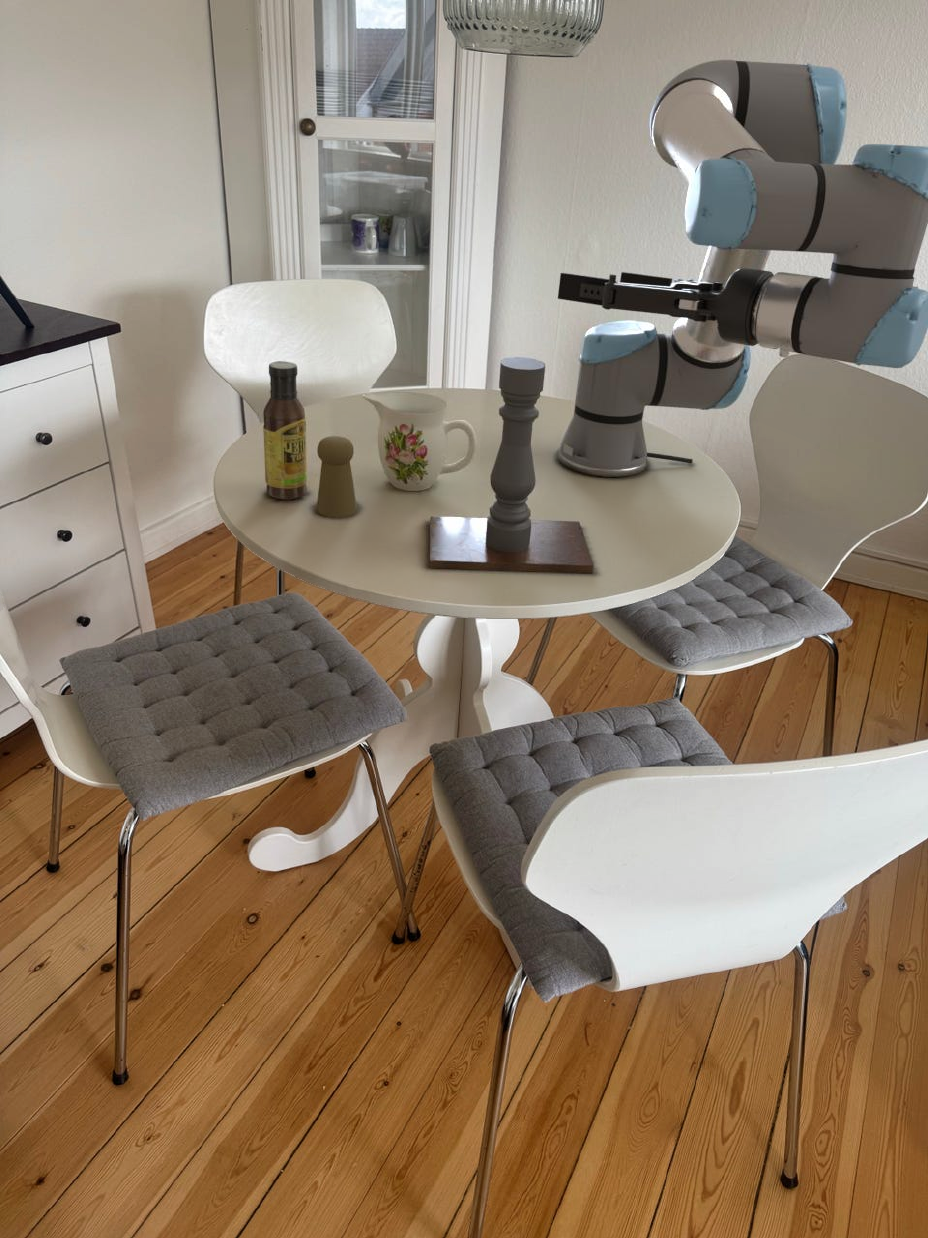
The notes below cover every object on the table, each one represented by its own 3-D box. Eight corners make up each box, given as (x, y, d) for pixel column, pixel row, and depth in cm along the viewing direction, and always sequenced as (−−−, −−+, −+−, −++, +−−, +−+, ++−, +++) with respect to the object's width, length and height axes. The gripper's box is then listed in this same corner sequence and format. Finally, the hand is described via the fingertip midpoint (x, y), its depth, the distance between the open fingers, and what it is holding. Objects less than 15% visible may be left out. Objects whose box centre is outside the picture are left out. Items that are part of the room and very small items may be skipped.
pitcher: (469, 502, 141) (474, 416, 134) (355, 491, 143) (354, 405, 136) (477, 476, 151) (482, 394, 144) (370, 465, 152) (370, 384, 145)
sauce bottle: (290, 505, 137) (283, 373, 127) (257, 495, 139) (249, 365, 129) (316, 491, 142) (312, 363, 132) (284, 482, 144) (278, 356, 134)
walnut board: (578, 528, 135) (579, 521, 135) (592, 573, 123) (593, 565, 123) (430, 523, 134) (430, 516, 133) (429, 568, 122) (430, 560, 121)
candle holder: (512, 529, 131) (528, 354, 118) (538, 546, 127) (557, 367, 114) (476, 538, 128) (488, 359, 115) (501, 556, 124) (517, 372, 111)
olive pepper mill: (335, 521, 133) (333, 449, 127) (307, 508, 136) (305, 437, 131) (365, 509, 137) (365, 439, 132) (337, 497, 140) (336, 428, 135)
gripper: (708, 355, 88) (528, 323, 99) (799, 339, 106) (638, 313, 117) (724, 272, 85) (536, 248, 96) (815, 270, 103) (648, 251, 114)
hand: (592, 284), depth 107 cm, fingers open, 13 cm apart
